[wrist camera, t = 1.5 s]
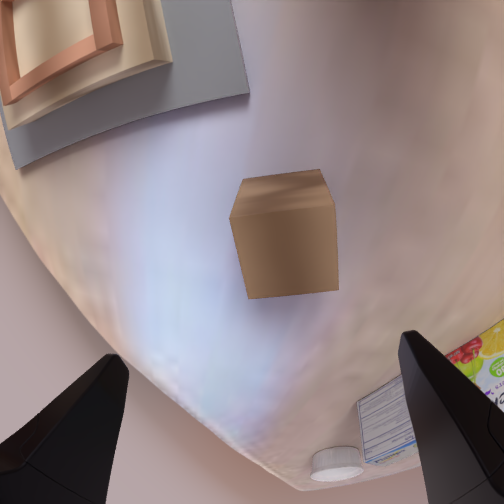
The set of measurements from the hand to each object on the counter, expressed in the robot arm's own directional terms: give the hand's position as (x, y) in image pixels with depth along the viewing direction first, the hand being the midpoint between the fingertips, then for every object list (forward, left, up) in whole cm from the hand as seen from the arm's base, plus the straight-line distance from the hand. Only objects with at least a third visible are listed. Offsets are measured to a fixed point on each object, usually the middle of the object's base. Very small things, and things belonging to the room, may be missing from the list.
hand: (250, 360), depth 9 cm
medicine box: (-11, +25, -14) cm, 31 cm away
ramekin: (-5, +45, -14) cm, 48 cm away
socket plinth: (+10, -16, -13) cm, 23 cm away
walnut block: (-1, +1, -14) cm, 14 cm away
